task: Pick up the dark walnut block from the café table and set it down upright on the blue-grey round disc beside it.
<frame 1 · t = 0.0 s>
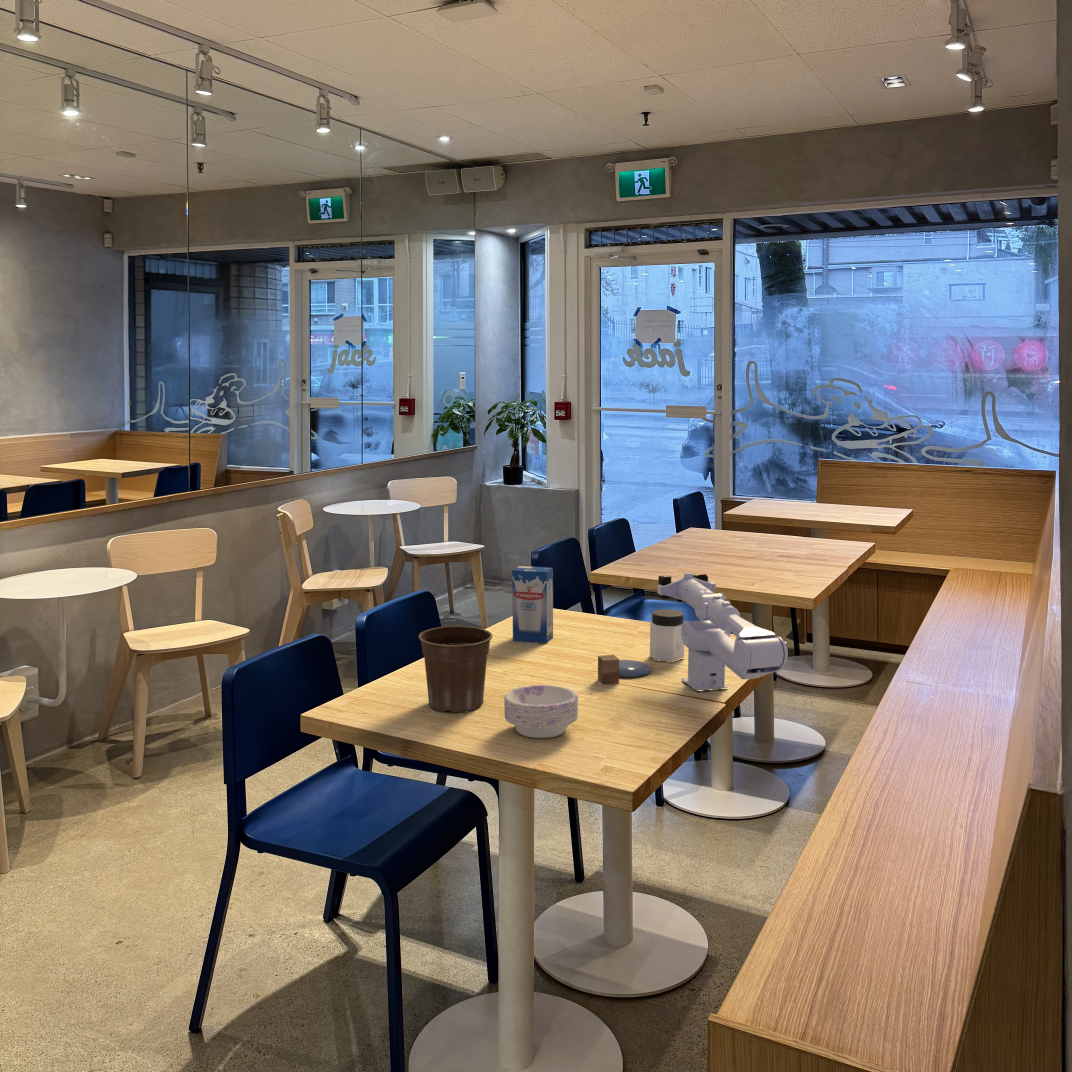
hand: (674, 578, 251), 22 cm above the table, tool horizontal, fingers open, 7 cm apart
jar: (666, 658, 258), on the table
plant pot: (457, 705, 223), on the table
milk carton: (533, 640, 277), on the table
paper bowls: (541, 732, 206), on the table
walnut block: (608, 681, 238), on the table
blue-grey round disc: (626, 670, 247), on the table
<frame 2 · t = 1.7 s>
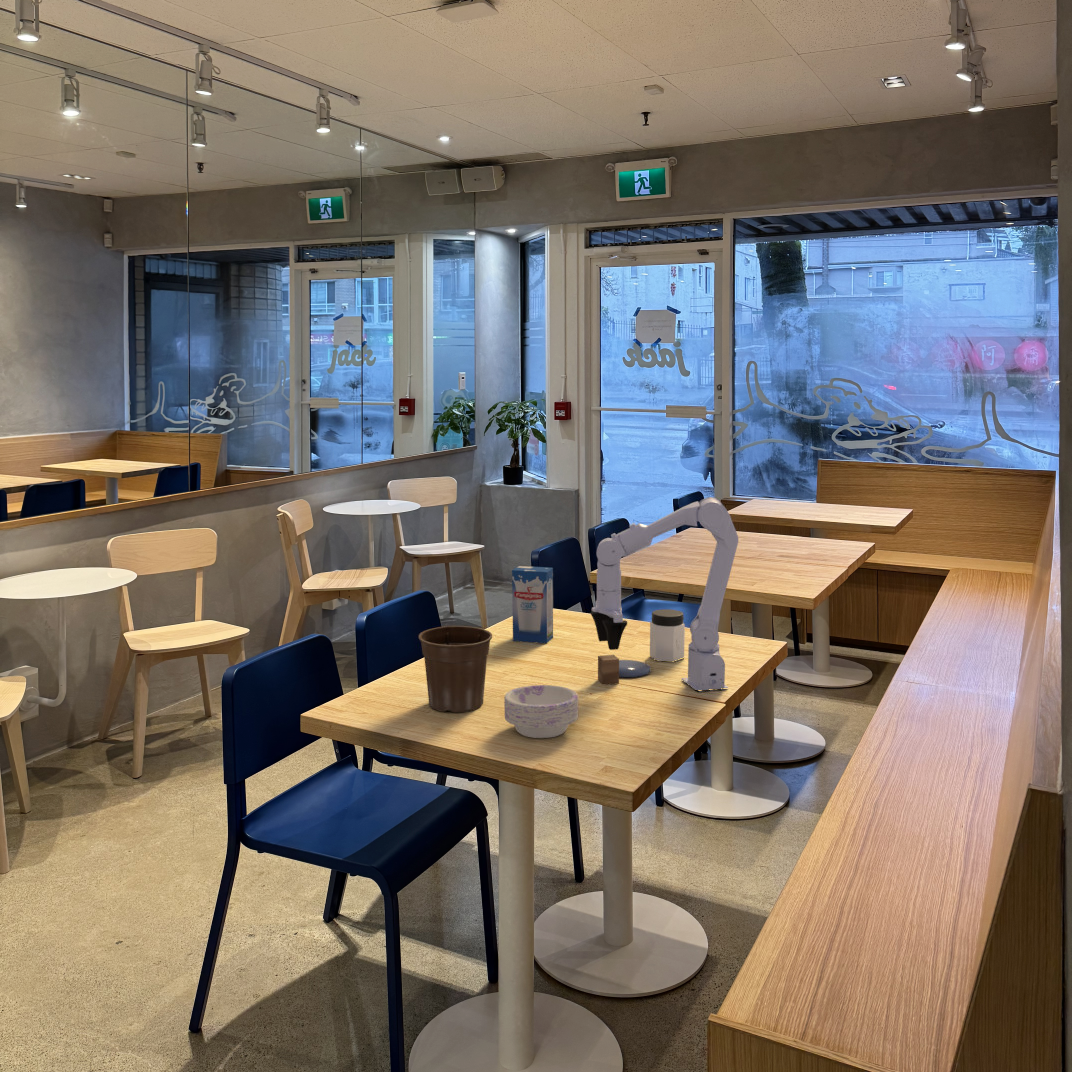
hand: (608, 645, 237), 9 cm above the table, tool pointing down, fingers open, 7 cm apart
nothing on the table moved.
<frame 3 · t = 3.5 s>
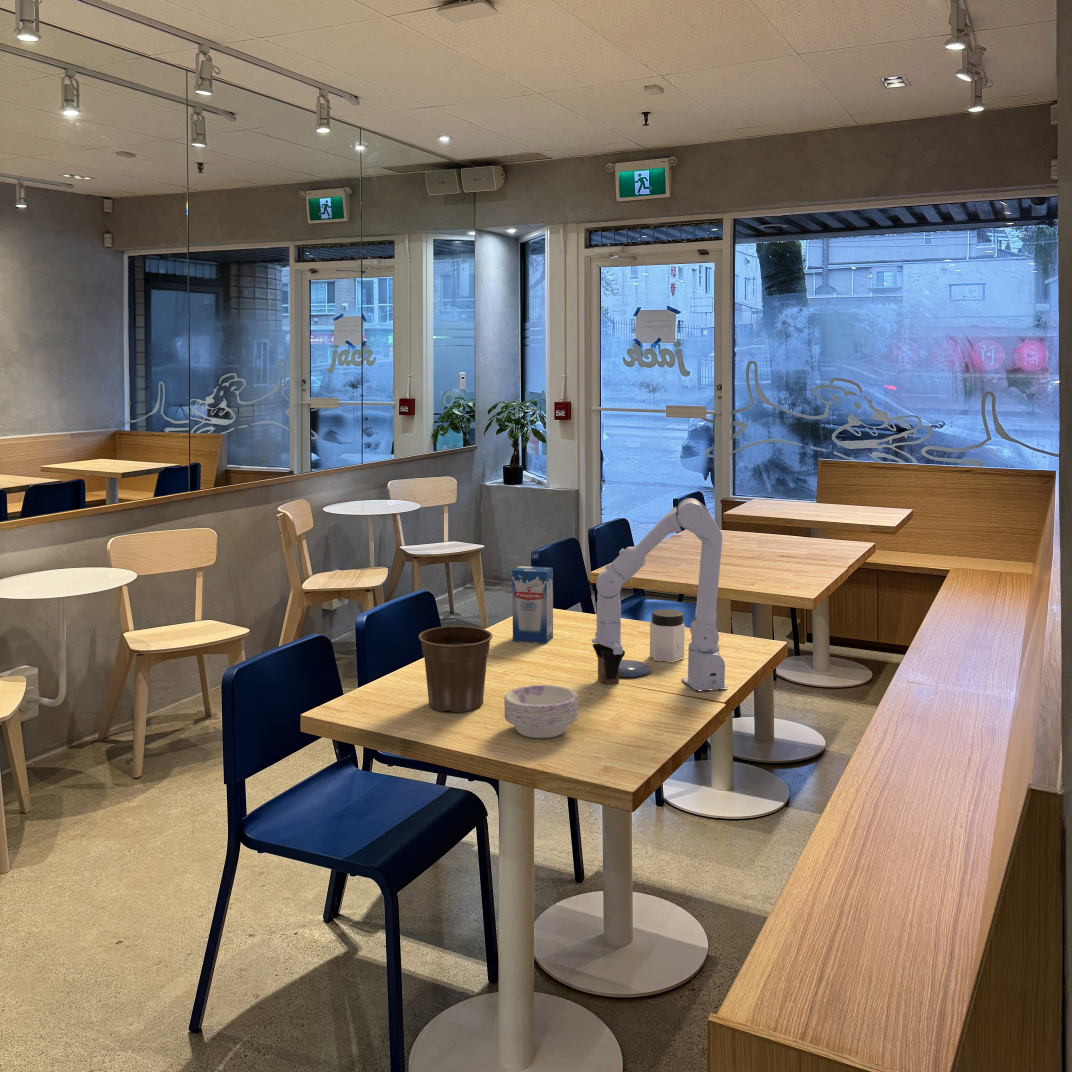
hand: (608, 675, 238), 1 cm above the table, tool pointing down, fingers closed on walnut block, 4 cm apart
walnut block: (608, 681, 238), on the table, touching gripper
everything else where it was.
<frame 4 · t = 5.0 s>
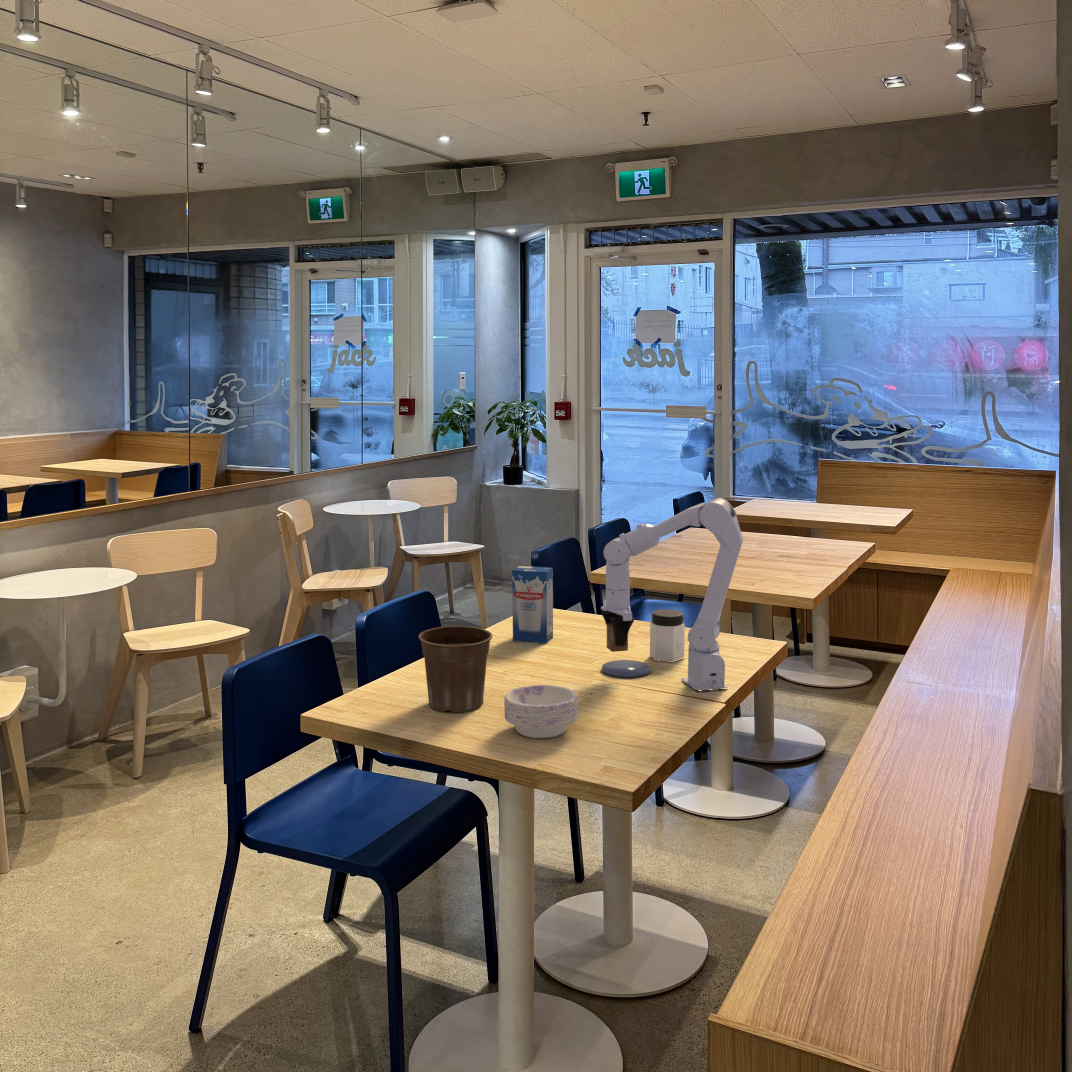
hand: (617, 643, 241), 8 cm above the table, tool pointing down, fingers closed on walnut block, 4 cm apart
walnut block: (617, 649, 241), point 7 cm above the table, touching gripper
everything else where it was.
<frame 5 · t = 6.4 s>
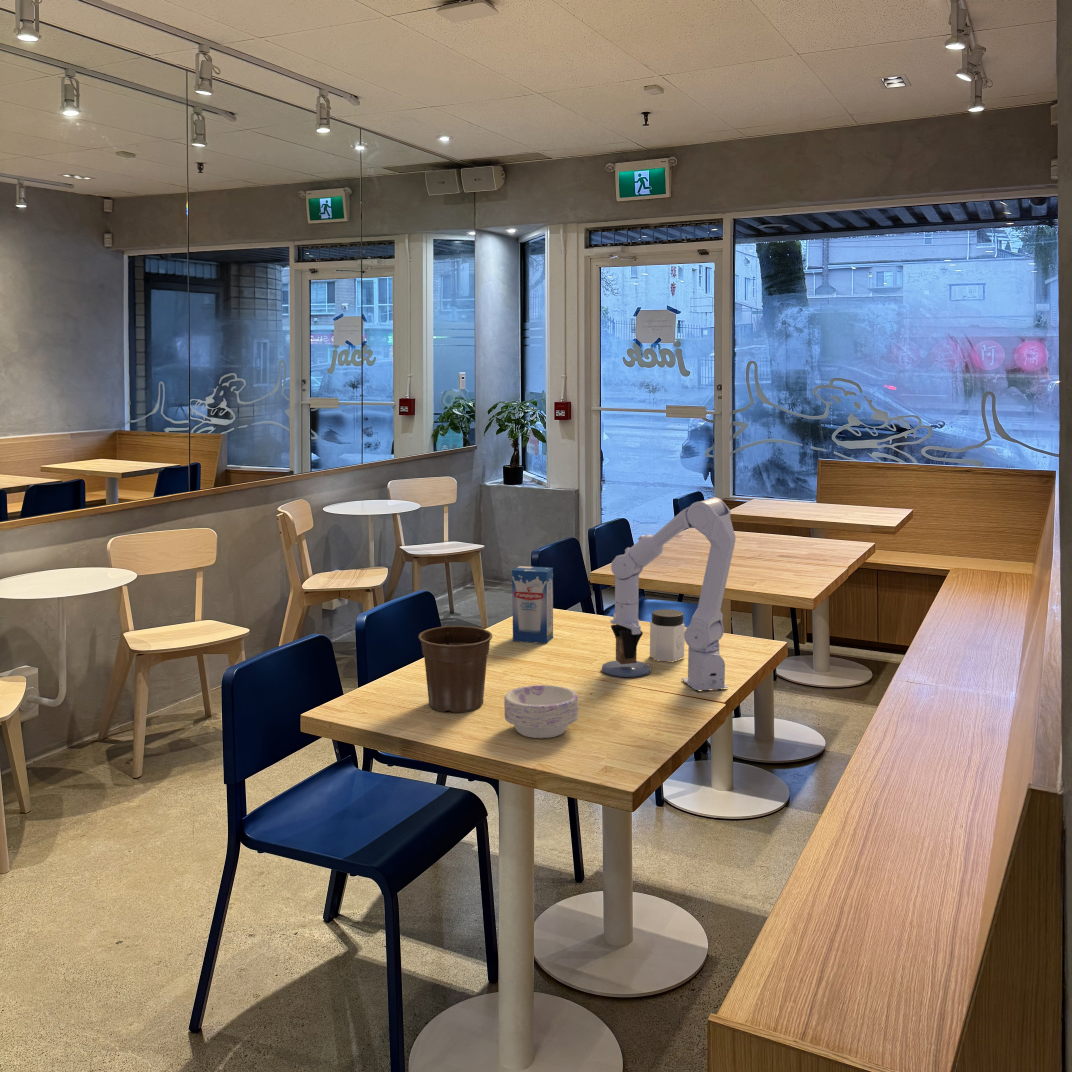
hand: (626, 655, 246), 4 cm above the table, tool pointing down, fingers closed on walnut block, 4 cm apart
walnut block: (626, 661, 246), point 2 cm above the table, touching gripper
everything else where it was.
when the fingers open (4 cm above the table, at t = 7.0 s): walnut block drops 1 cm, resting on blue-grey round disc.
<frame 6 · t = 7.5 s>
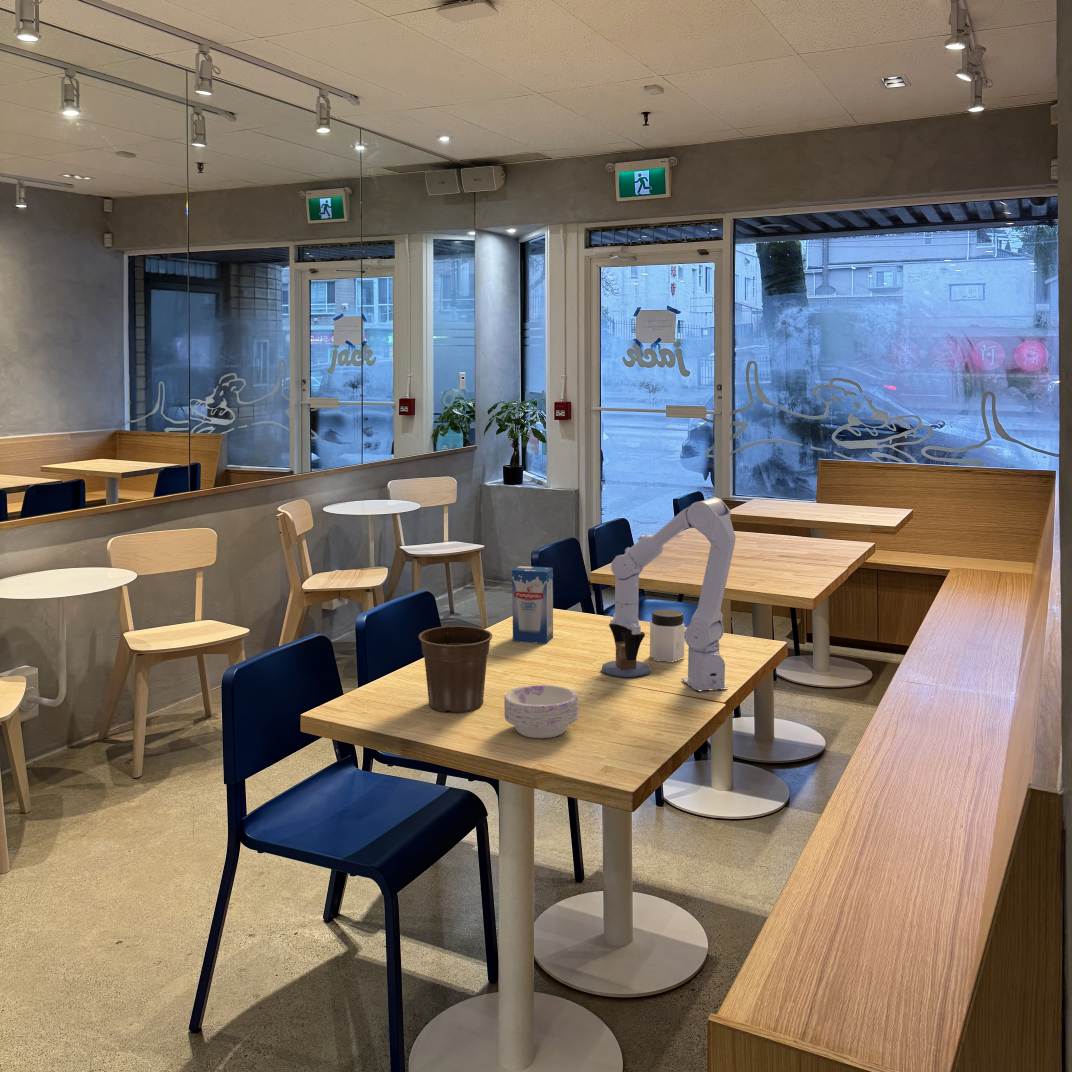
hand: (626, 655, 246), 4 cm above the table, tool pointing down, fingers open, 7 cm apart
walnut block: (625, 666, 247), point 1 cm above the table, touching blue-grey round disc
everything else where it was.
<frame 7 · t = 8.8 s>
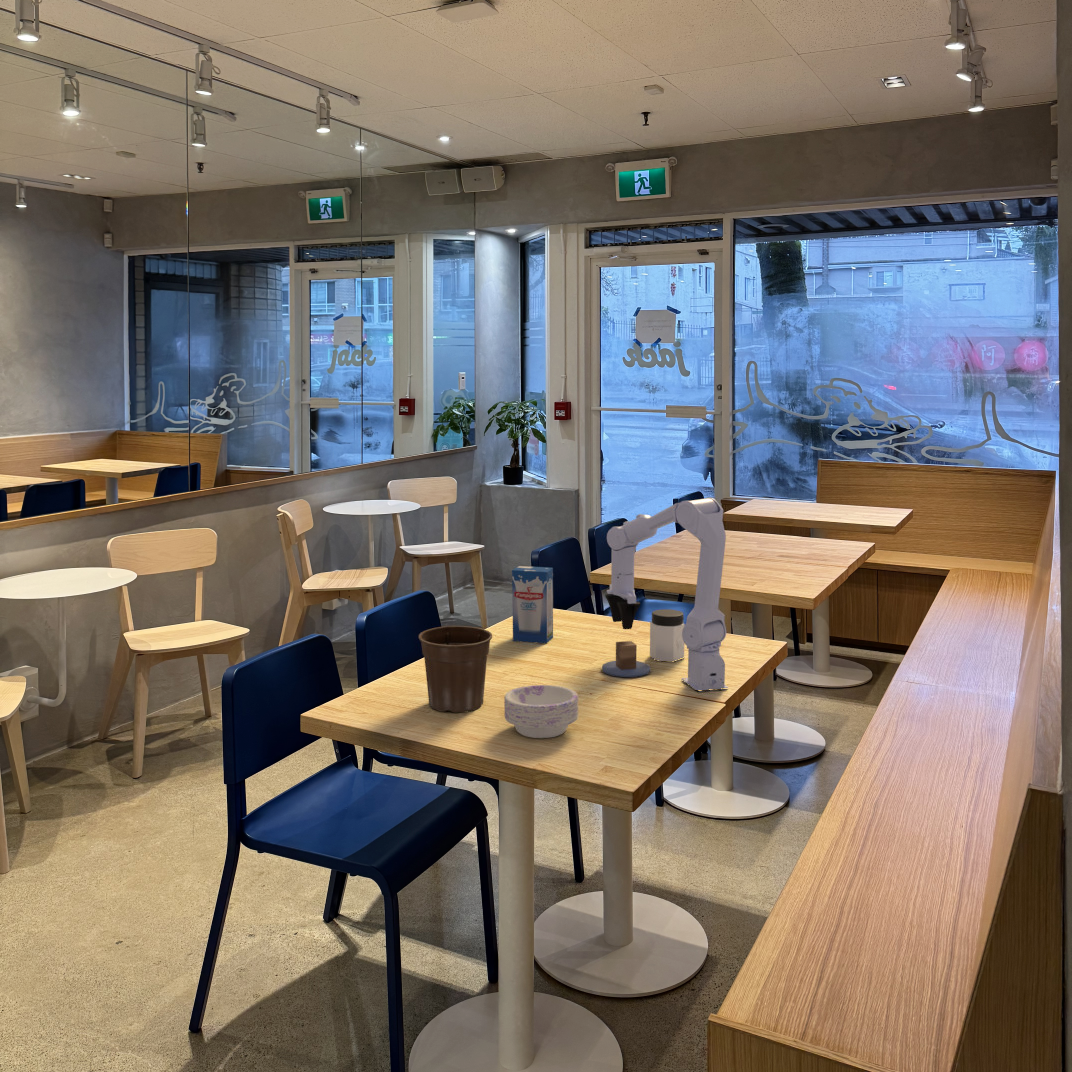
hand: (622, 625, 254), 10 cm above the table, tool pointing down, fingers open, 7 cm apart
nothing on the table moved.
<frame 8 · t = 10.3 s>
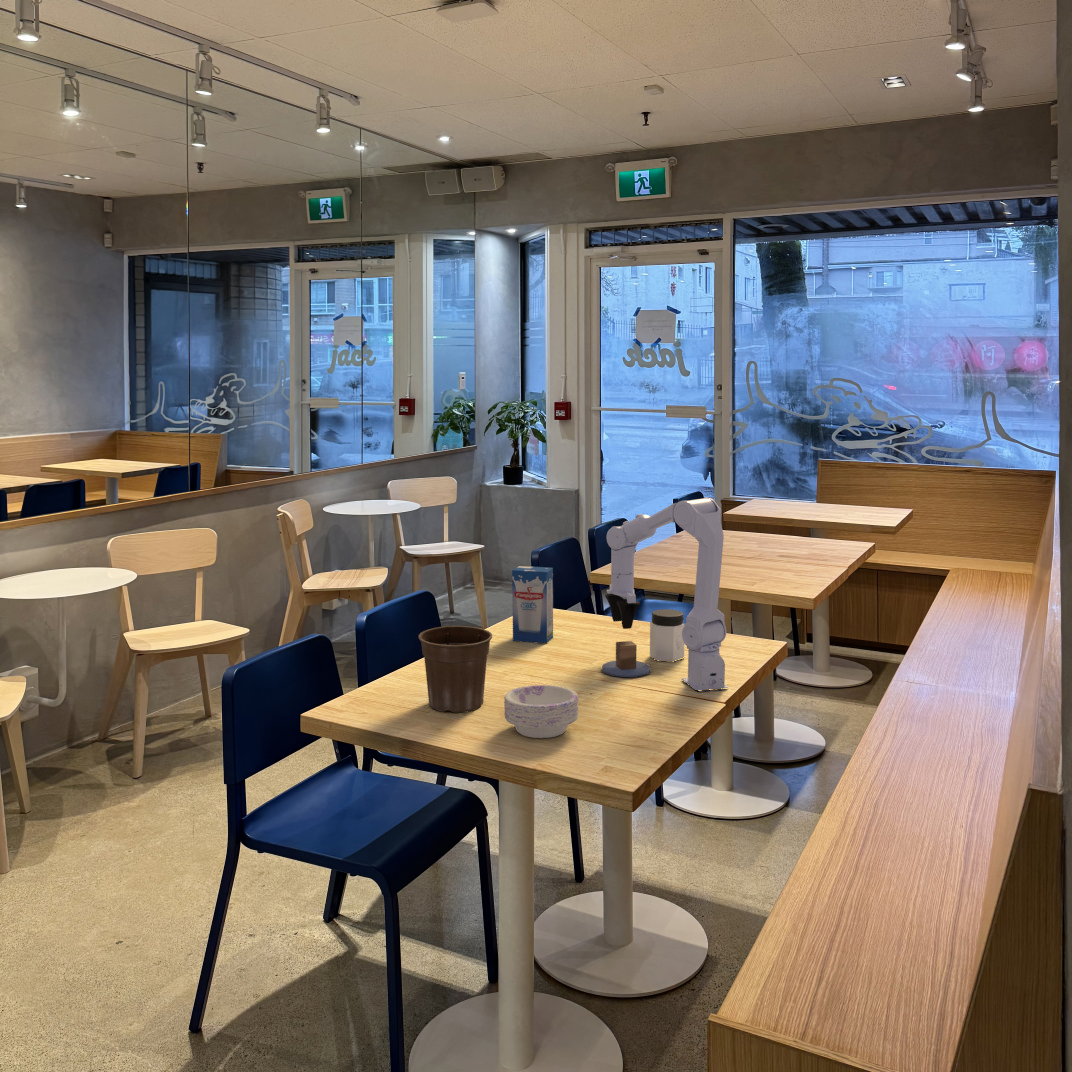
hand: (622, 624, 254), 9 cm above the table, tool pointing down, fingers open, 7 cm apart
nothing on the table moved.
at the end: walnut block 0.1 cm off-centre on the blue-grey round disc, point 1.0 cm above the blue-grey round disc's base; walnut block tilted 0°; the gripper is holding nothing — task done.
